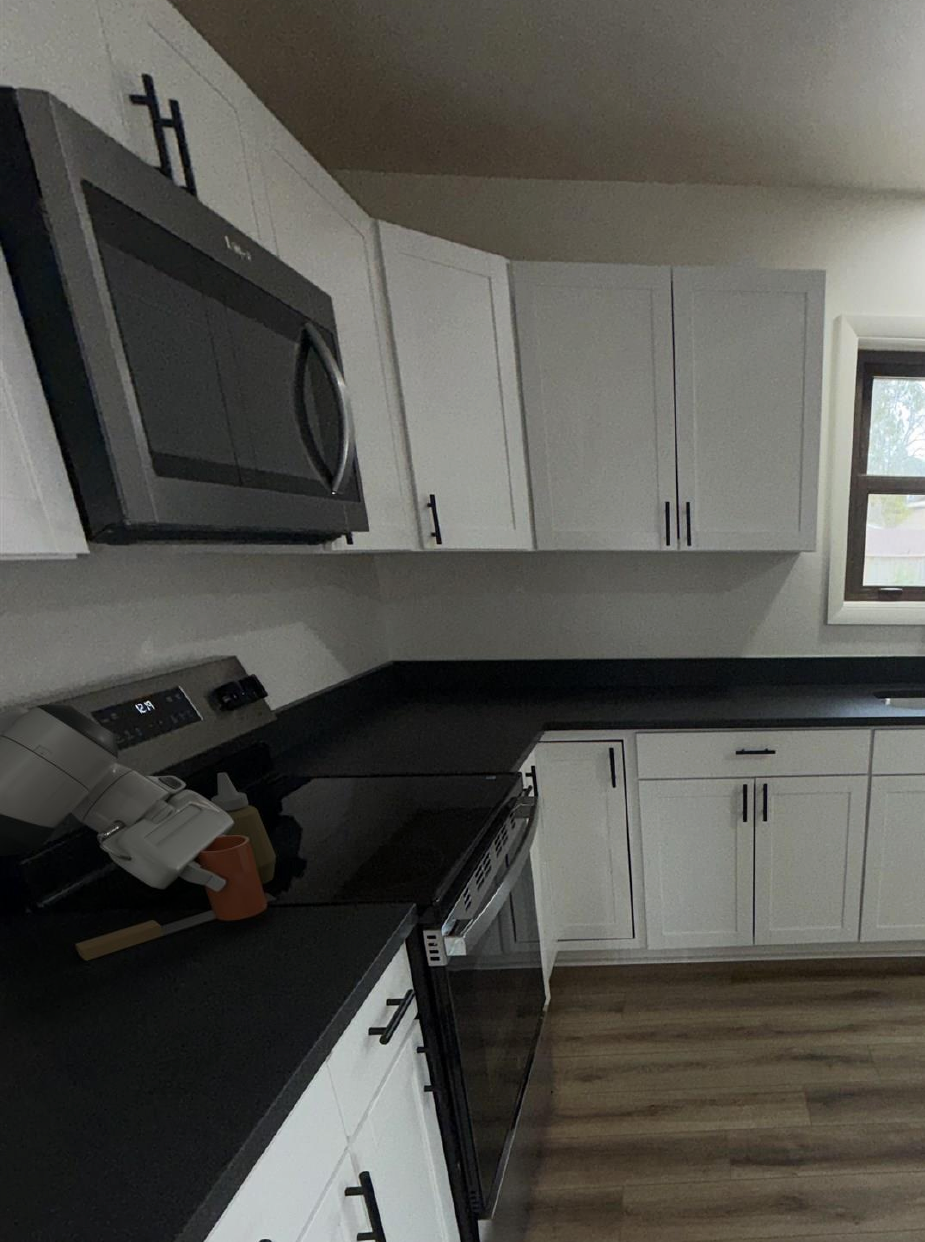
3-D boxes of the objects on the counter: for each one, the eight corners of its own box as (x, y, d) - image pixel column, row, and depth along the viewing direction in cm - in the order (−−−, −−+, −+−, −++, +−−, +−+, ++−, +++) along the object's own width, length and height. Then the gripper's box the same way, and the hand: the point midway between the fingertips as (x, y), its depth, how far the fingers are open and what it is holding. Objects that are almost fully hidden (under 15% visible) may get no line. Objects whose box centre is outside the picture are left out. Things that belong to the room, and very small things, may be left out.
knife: (87, 963, 103) (82, 950, 103) (79, 956, 105) (74, 943, 104) (277, 901, 121) (273, 889, 120) (267, 896, 122) (264, 884, 122)
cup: (226, 924, 106) (204, 856, 102) (207, 912, 110) (185, 845, 106) (275, 908, 111) (256, 841, 107) (255, 896, 115) (236, 831, 110)
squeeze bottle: (284, 884, 126) (254, 775, 119) (225, 896, 122) (191, 784, 115) (278, 868, 132) (249, 763, 125) (222, 879, 128) (189, 771, 121)
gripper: (103, 819, 93) (218, 888, 99) (180, 772, 111) (273, 832, 117) (74, 858, 94) (189, 924, 100) (155, 804, 112) (249, 863, 118)
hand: (235, 874), depth 108 cm, fingers closed on cup, 6 cm apart
